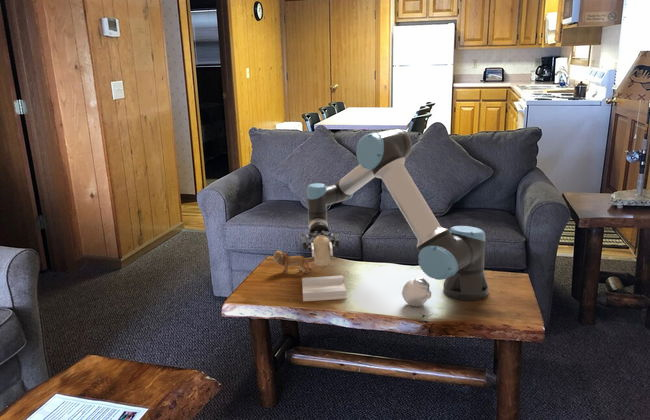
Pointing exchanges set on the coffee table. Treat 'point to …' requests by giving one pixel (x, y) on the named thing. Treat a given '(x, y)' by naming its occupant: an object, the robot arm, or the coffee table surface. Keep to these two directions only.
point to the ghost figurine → (416, 292)
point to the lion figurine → (290, 260)
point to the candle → (321, 251)
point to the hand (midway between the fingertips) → (322, 252)
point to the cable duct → (323, 288)
